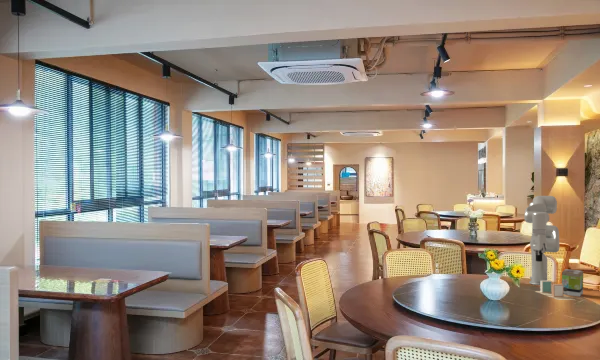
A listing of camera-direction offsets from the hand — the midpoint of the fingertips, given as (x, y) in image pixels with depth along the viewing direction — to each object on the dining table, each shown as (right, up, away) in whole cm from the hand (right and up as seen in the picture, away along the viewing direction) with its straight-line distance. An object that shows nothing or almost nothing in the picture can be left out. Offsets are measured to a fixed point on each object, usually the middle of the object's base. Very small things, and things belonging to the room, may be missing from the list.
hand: (539, 261), depth 287 cm
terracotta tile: (+1, -18, -18) cm, 25 cm away
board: (+1, -19, -15) cm, 24 cm away
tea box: (+16, -19, -9) cm, 27 cm away
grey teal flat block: (0, -18, -7) cm, 19 cm away
